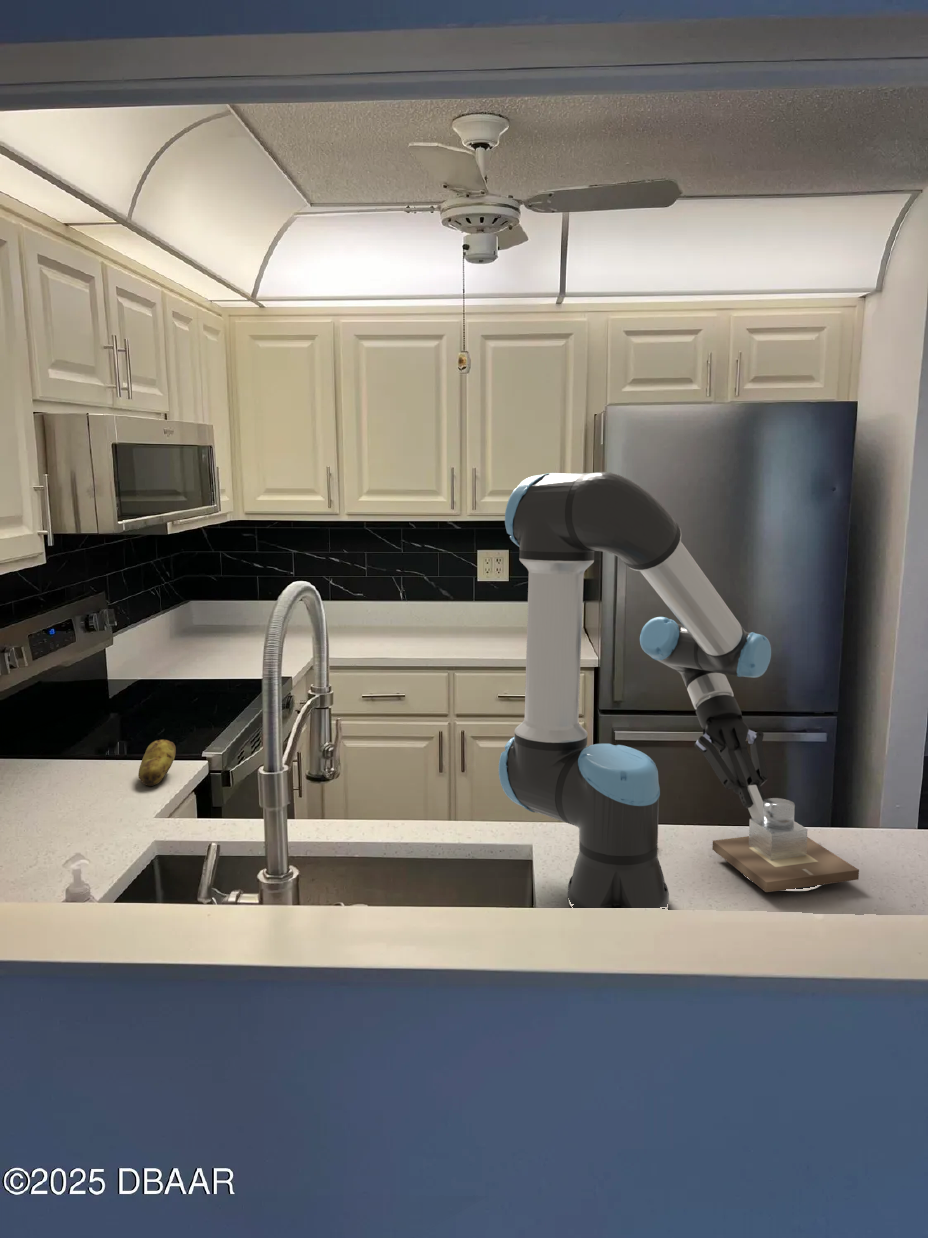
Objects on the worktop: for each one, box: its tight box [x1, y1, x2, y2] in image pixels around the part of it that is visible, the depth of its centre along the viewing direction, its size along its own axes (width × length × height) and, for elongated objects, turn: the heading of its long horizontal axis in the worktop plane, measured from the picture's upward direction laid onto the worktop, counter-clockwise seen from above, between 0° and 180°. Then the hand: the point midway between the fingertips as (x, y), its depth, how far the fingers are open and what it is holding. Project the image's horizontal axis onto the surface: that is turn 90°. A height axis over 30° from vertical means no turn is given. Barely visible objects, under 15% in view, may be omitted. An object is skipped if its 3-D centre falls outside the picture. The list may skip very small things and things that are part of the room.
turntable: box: [712, 835, 860, 893], centre depth 139 cm, size 16×16×2 cm
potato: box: [138, 739, 177, 787], centre depth 190 cm, size 8×13×8 cm, turn 165°
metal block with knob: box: [748, 797, 808, 860], centre depth 140 cm, size 6×6×8 cm
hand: (763, 823), depth 144 cm, fingers closed
